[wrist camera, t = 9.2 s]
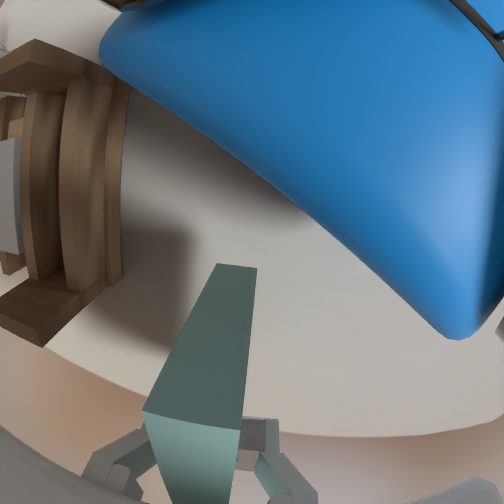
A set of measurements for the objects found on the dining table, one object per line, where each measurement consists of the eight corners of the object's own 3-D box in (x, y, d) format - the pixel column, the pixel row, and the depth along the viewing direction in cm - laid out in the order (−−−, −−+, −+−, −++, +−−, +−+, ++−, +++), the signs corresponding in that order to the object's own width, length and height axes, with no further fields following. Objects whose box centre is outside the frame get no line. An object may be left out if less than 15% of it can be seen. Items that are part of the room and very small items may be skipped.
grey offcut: (7, 143, 11) (-9, 144, 10) (32, 137, 11) (15, 137, 10) (10, 241, 13) (-5, 249, 12) (34, 247, 13) (19, 254, 12)
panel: (216, 263, 12) (141, 410, 4) (257, 268, 12) (240, 430, 4) (210, 411, 15) (183, 527, 7) (238, 415, 15) (223, 534, 7)
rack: (30, 101, 13) (-51, 96, 5) (131, 78, 13) (39, 36, 5) (30, 258, 17) (-40, 300, 9) (122, 277, 17) (46, 349, 9)
